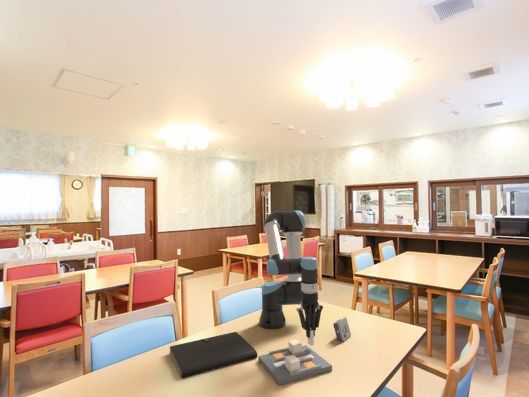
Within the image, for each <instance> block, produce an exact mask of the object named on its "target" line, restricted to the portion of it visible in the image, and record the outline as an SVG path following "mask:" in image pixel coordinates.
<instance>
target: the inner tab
mask: <svg viewBox="0 0 529 397" xmlns="http://www.w3.org/2000/svg"><path fill="white" fill-rule="evenodd" d="M302 346H303V344H302V343H301V342H300V341H299V340H297V339H292V340H289V341H288V347H289V351H290V352H291V353H292V354H297V353H301V352H302Z"/></svg>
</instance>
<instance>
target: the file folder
mask: <svg viewBox="0 0 529 397" xmlns="http://www.w3.org/2000/svg"><path fill="white" fill-rule="evenodd" d="M170 354H171V355H170ZM169 355H170V357H171V359H172V361H173V363H175V364H174V365H175V367H176V370H177V372H178V373H179V376H180V378H181V379H185V378H188V377H193V376H196V375H199V374H204V373H205V372H209V371H214V370H217V369H220V368H224V367H229V366H232V365H235V364H238V363H241V362H246V361H249V360H252V359H253V360H254V359H256V358H258V352H257V350H256V348H254V346H252V345H251V343H249V342H248V341H247V340H246V339H245V338H244V337H243V336H242V335H241V334H239V333H238V332H237V331H233V332H229V333H223V334H219V335H216V336H211V337H206V338H201V339H198V340H197V339H196V340H193V341H189V342H184V343H180V344H179V343H178V344H175V345H171V346H169Z"/></svg>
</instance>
